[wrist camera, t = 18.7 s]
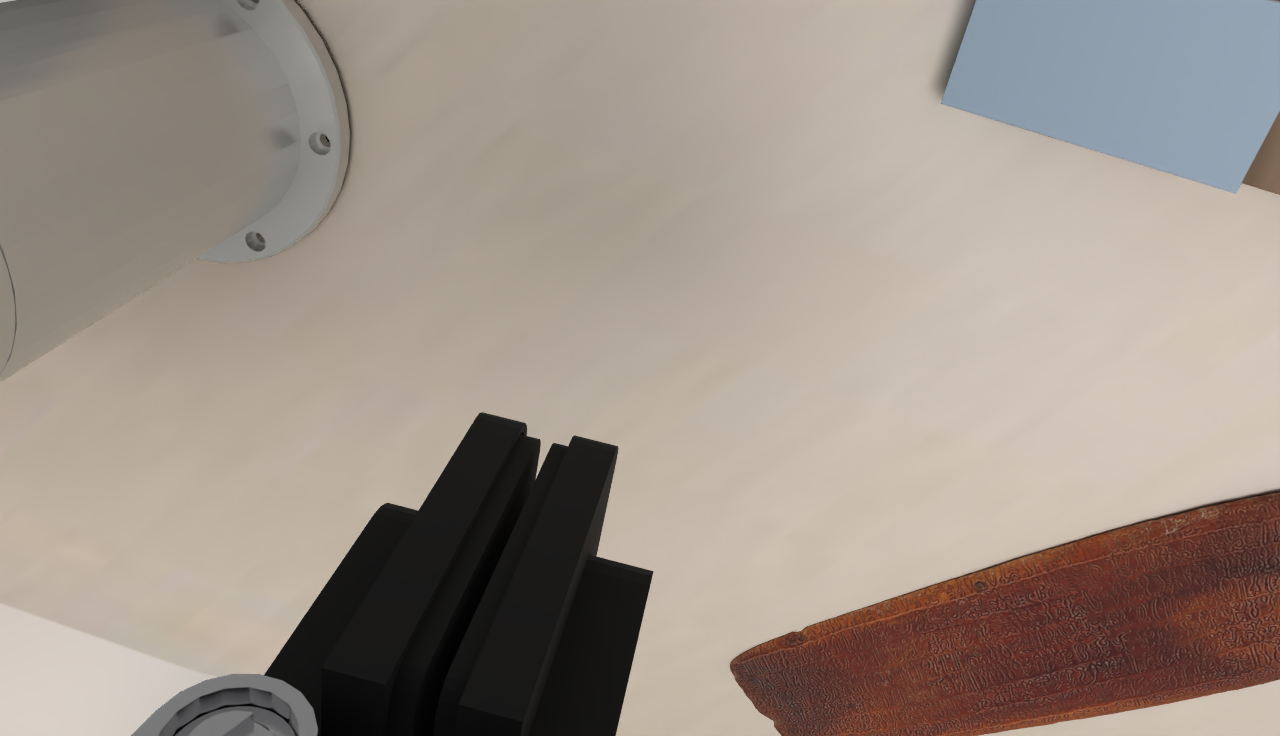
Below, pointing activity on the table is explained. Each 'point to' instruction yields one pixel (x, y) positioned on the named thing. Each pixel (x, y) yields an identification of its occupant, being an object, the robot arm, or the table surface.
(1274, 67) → the domino
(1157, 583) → the wooden tablet
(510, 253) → the table surface
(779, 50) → the table surface
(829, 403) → the table surface
